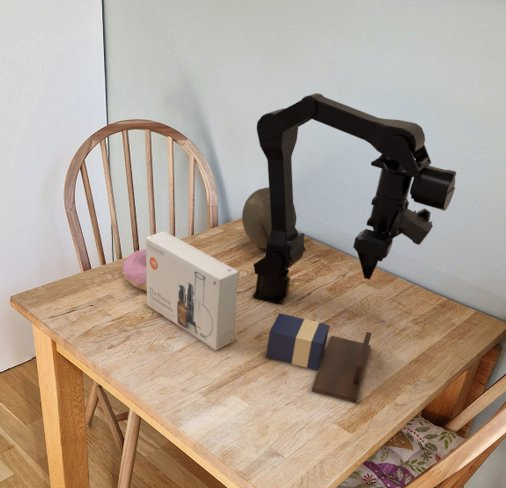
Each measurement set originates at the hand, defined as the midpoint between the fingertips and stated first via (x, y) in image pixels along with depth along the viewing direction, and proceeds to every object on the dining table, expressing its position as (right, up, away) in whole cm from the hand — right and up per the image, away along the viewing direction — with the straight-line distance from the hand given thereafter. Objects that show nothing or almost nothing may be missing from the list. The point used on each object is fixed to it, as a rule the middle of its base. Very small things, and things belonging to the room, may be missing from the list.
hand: (373, 269), depth 121 cm
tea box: (-15, -14, -5) cm, 21 cm away
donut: (-45, -1, +17) cm, 48 cm away
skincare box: (-37, -11, +2) cm, 38 cm away
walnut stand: (-7, -19, -6) cm, 21 cm away
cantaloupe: (-20, +9, +37) cm, 43 cm away
